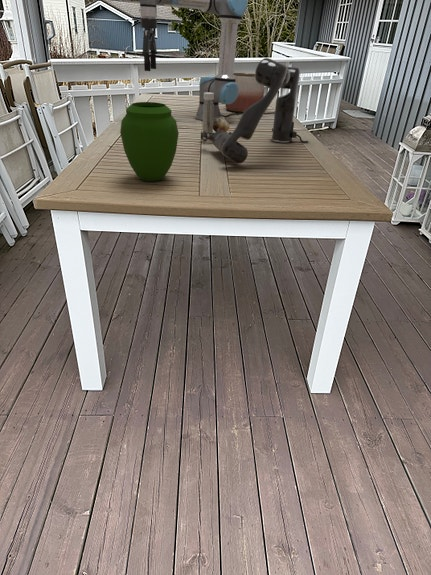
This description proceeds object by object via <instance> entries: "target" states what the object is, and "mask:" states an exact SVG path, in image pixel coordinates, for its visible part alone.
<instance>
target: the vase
mask: <svg viewBox="0 0 431 575" xmlns="http://www.w3.org/2000/svg"><path fill="white" fill-rule="evenodd" d="M125 113H126V114H125V115H124V117H122V119H121V122H120V123H121V124H120V130H119V133H120V138H121V142H122V147H123V150H124V154H125V155H126V158H127V160H128V163H129V165H130V167H131V168H132V170H133V172H134V173H135V175H136V176H137V177H138V178H139V179H141V180H143V181H145V182H159V181H161V180H163V179H164V178H165V176H166V175H167V174H168V173H169V170H170V169H171V167H172V165H173V162H174V159H175V157H176V156H175V155H176V153H177V147H178V140H179V129H178V122H177V120H176V119H175V117H174V116H173V115H172V109H171V108H170V107H169V106H167V105H166V104H164V103H162V102H155V101H138V102H132V103H131V104H130V105H128V107H127V108H125Z"/></svg>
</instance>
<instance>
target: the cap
mask: <svg viewBox="0 0 431 575" xmlns="http://www.w3.org/2000/svg"><path fill="white" fill-rule="evenodd" d="M204 99H205V100H214V93H210V92H205V93H204Z"/></svg>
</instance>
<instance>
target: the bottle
mask: <svg viewBox="0 0 431 575" xmlns="http://www.w3.org/2000/svg"><path fill="white" fill-rule="evenodd" d="M213 113H214V104H213V101H212V100H205V101H204V104H203V120H202V132H204V131H206V132H207V133H208V132H213V133H214V130H213V122H214V121H213ZM211 135H212V134H211ZM207 136H208V134H207ZM201 140H202V139H201ZM201 143H202V144H208V145H209V144H213V143H212V141H209V140H208V139H207V141H206V142H205V141H203V140H202V142H201Z"/></svg>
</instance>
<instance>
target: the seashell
mask: <svg viewBox="0 0 431 575" xmlns="http://www.w3.org/2000/svg"><path fill="white" fill-rule="evenodd" d="M218 130H224V131H225V132H227V131H228V130H230V123H229V122H228V121H227V119H226V117H223V116H221V118H218V119H216V120H215V121H213V132H214V133H215V132H216V131H218Z"/></svg>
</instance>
